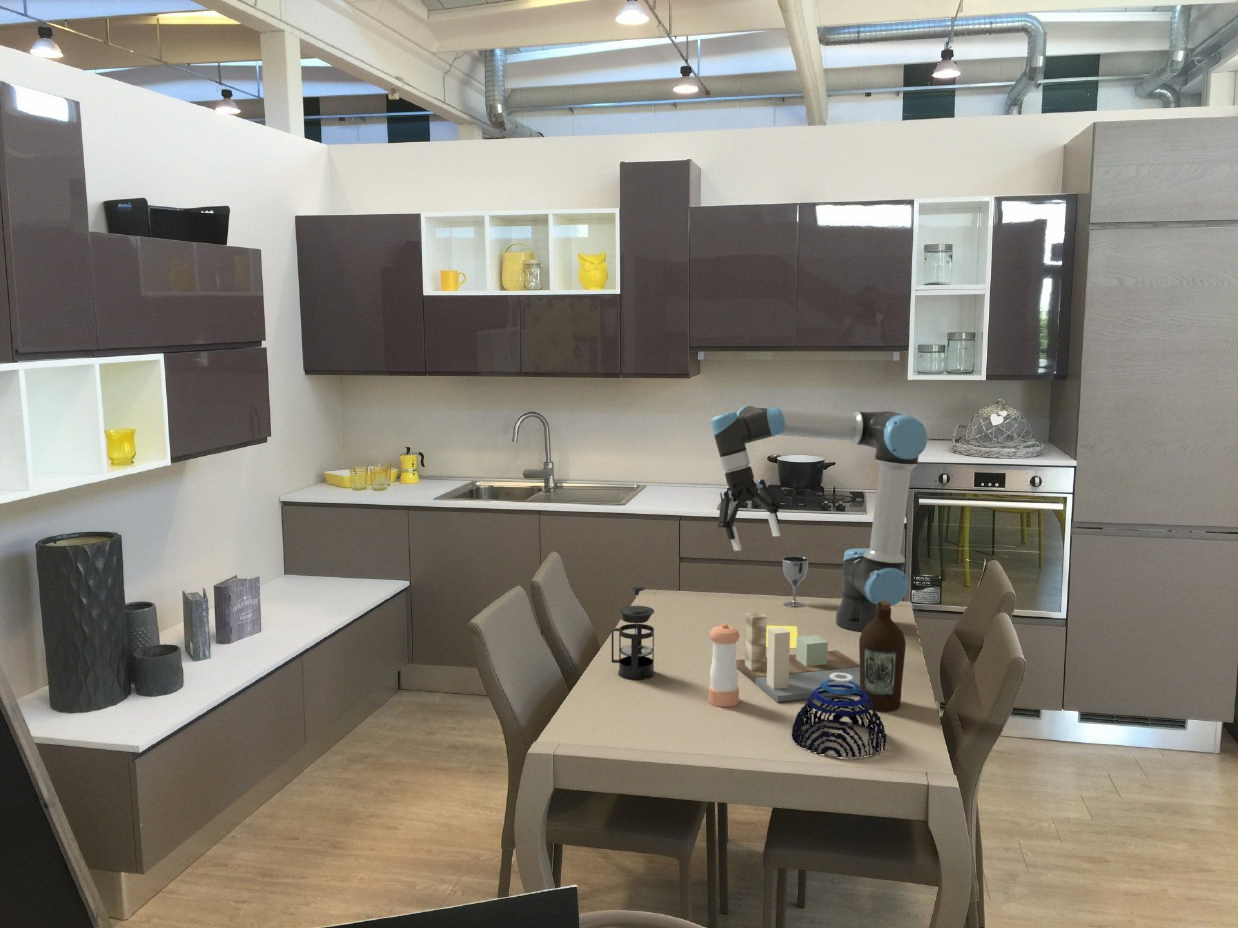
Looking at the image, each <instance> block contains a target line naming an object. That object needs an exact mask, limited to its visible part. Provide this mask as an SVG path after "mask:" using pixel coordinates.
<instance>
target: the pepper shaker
mask: <svg viewBox="0 0 1238 928" xmlns="http://www.w3.org/2000/svg"><path fill="white" fill-rule="evenodd" d="M709 638H710V639H711V641H712V660H711V666H710V670H709V676H710V677H709V685H708V695H707V696H708V698H707V701H708V702H709V704H711V705H712V706H715V707H720V708H729V707H734V706H737V705H738V704H739V701H740V687H739V686H738V682H739V681H738V679H739V674H738V673H739V672H738V668H737V664H736V660H737V642H738V641H739V640H740V639H739V638H740V633H739V631H738V629H737V628H736V627H734V626H732V625H729V624H728V623H722V624H721V625H718V626H715V627H712V629H711V630H710V632H709Z"/></svg>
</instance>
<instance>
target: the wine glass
mask: <svg viewBox="0 0 1238 928" xmlns="http://www.w3.org/2000/svg"><path fill="white" fill-rule="evenodd" d="M808 567H809V558H807V557H805V556H799V555H787V556H783V558H782V569H783V570H782V571H783V575H784V576H785V578H786V579H787V580H788V582H789V584H790V585H791V587H792V594H793V595H792V596H793V597H792V600H791V601H789V600H788V601H784V602H783V603H782V605H783V606H785V607H789V608H794V609H795V608H797V609H798V608H803V607H806V603H804V602H801V601H797V597H796V596H797V588H798V586H799V584H800V583H801V582H802V581H803V580H804V579H805V577H806V576H807V572H808Z"/></svg>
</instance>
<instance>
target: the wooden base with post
mask: <svg viewBox="0 0 1238 928" xmlns="http://www.w3.org/2000/svg"><path fill="white" fill-rule="evenodd" d="M767 617H768V616H767V615H765V614H764V613H763V612H761V611H759V612H757V611H756V612H746V613H745V645H744V647H745V649H744V651H745V652H744V653H745V654H744V655H745V656H744V658H743V659H742V658H741V659H736V664H737V670H739V671H740V672H741V673H742V674H744V675H745V676H746V678H747V677H748V679H750V681H752V682H753V683H755V678H757V677H766V676H767V630H768V627H767V622H768V621H767V620H768V619H767ZM853 667H860V663H859V662H856V661H855V660H853V659H851V658H850V657H848V656H847V655H846V654H844V653H842V652H841V651H840V650H838V649H837V650H835V649H834V650H828V655H827V664H825V665H816V666H805V665H804V664H802V663H801V662H799V661H798V660H797V659H796V653H794V654H789V674H795V673H805V672H814V671H824V670H834V669H843V668H853ZM755 684H756V683H755Z"/></svg>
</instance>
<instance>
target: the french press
mask: <svg viewBox="0 0 1238 928" xmlns="http://www.w3.org/2000/svg"><path fill="white" fill-rule="evenodd" d="M628 590H629V591H631V592H634V595H635V605H627V606H624V607H621V608H620V609H619V610H618V612H619V614H620V620H621V621H622V622H625V623H628V624H625V625H621V626H619V627H613V628H612V629H611V663H612V664H619V665H618V672H617V673H618V676H619V677H620V678H622V679H626V680H629V681H630V680H631V681H641V680H648V679H652V678H653V677H654V676H655V668H654V667H655V665H654V664H655V663H654V661H655V628H654V627H653V626H651V625H648V624H644V623H646V622H648V621H650V618H651V616H652V615H653V614H655V609H653V608H652V607H650V606H646V605H638V596H639V593H640V592H642V591H645V590H646V587H643V586H639V585H633V586H630V587H629V588H628ZM627 630H634V633H627V632H624V631H627ZM642 630H646V631H649V632H646V633H642ZM615 632H618V636H619V637H618V646H619V647H618V648H619V649H618V659H614V654H615V653H614V650H615V648H614V647H615V646H614V645H615V643H614V642H615V641H614V639H615V637H614V635H615ZM621 638H624V639H629V640H630V641H631V642H630V643H631V644H629V645H625V646H622V644H621V643H622V640H621ZM650 638H652V647H651V646H648V645H644V644H643V643H642V642H643V641H642V640H644V639H645V640H646V639H650ZM621 646H622V647H621ZM621 655H623V656H624V657H621ZM650 655H652V658H651V657H649V656H650Z"/></svg>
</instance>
